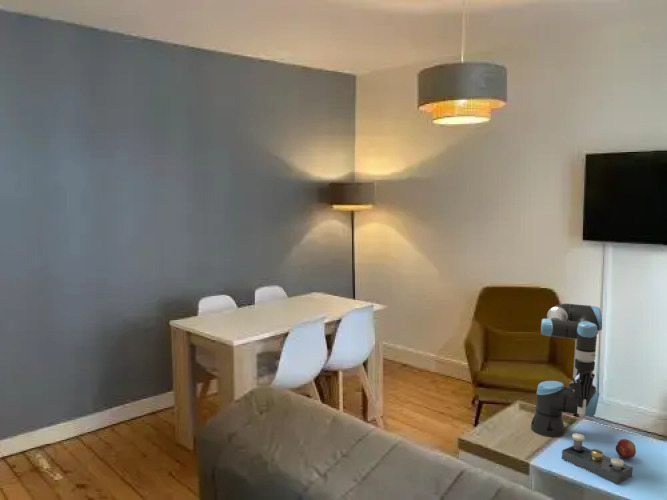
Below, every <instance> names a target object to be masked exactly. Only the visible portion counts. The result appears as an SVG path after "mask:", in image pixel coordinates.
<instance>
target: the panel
mask: <svg viewBox="0 0 667 500" xmlns="http://www.w3.org/2000/svg"><path fill="white" fill-rule="evenodd" d="M591 450H592V449H590V448H587V447H585V446H583V445H582V450H581V451H578V450H575V449H573V445H572V446H569V447H567V448H564V449H562V451H561V460H562V459H564V460H563V461H565V460H566V461H565V462H567V461H568V462H567V463H569V462H570V464H571V463H572V464H571V465H573V464H574V466H576V467H578V468H580V467H581V468H580V469H582V468H584V469H586V470H585V471H587V470H588V471H587V472H589V471H590V472H589V473H591V472H592V473H591V474H593V473H594V475H595V474H596V476H598V477H600V478H602V479H605V480H607V481H609V482H610V483H614V484H615V485H620V484H621V483H623V482H626V481H627V480H629V479H631V478H632V477H633V471H634V468H633V466H631V465H628V464H626V463H624V466H623V467H622V470H621V471H619V470H616V469H614V468H612V464H611V458H612V457H609V456H607V455H604V454H603V459H602V461H595V460H593V459H591ZM584 469H583V470H584Z"/></svg>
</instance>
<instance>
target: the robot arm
mask: <svg viewBox="0 0 667 500" xmlns="http://www.w3.org/2000/svg"><path fill="white" fill-rule="evenodd" d="M602 317H603V315H602V310H601V308H600V307H599V306H594V305H590V304H589V305H587V304H585V305H584V304H574V303H561V304H557V305H556V304H555V305H554V306H552V307H550V308H549V310H548V311H547V313H546V318H542V319H541V323H540V324H541V325H540V334H541V335H542V336H546V337H555V338H564V339H571V340H575V341H574V342H575V344H574V356H573V370H572V371H573V373H572V381H570V382H569V384H568V386H565V385H564V383H563V382H561V381H557V380H545V381H541V382H540V383H538V384H537V390H536V401H535V402H536V403H535V413H534V416H533V418H532V420H531V423H530V429H531V430H532V431H533V432H534V433H536V434H538V435H541V436H546V437H550V438H551V437H552V438H553V437H554V438H558V437H563V436H564V435H565V434H564V433H566V432H565V431H566V427H565V424H564V420H563V413H567V414H573V415H579V416H582V417H585V416H586V417H593V416H595V415H596V413H597V407H598V402H599V396H600V392H599V391H597V387H596V386H595V385H594V384H593V382H594V379H595V376H596V375H595V374H594V371H595V368H596V367H595V366H596V362H595V360H596V356H597V355H596V350H597V349H596V348H597V339H598V335H599V332H600V331H602V330H603V318H602Z"/></svg>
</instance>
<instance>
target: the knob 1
mask: <svg viewBox="0 0 667 500" xmlns="http://www.w3.org/2000/svg"><path fill="white" fill-rule="evenodd" d="M572 440H573V445H572V446H573V449H575V450H578V451H581V450H582V446H583V442H584V441H585V435H584V434H582V433H577V432H575V433H572Z"/></svg>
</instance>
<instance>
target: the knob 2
mask: <svg viewBox="0 0 667 500" xmlns="http://www.w3.org/2000/svg"><path fill="white" fill-rule="evenodd" d="M610 458H611V464H612V468H614V469H616V470H619V471H621V470H622V467H623V466H624V464H625V461H624V460H623V459H621V458H620V457H619V458H618V457H610Z"/></svg>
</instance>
